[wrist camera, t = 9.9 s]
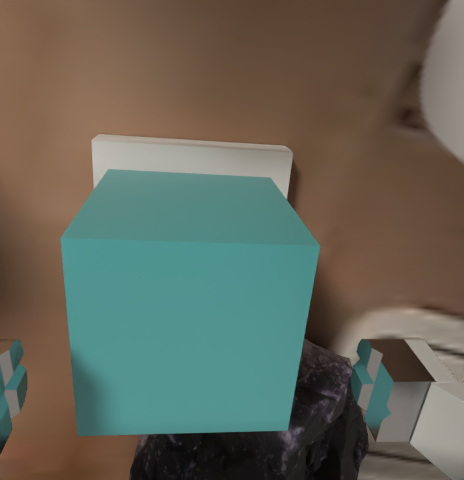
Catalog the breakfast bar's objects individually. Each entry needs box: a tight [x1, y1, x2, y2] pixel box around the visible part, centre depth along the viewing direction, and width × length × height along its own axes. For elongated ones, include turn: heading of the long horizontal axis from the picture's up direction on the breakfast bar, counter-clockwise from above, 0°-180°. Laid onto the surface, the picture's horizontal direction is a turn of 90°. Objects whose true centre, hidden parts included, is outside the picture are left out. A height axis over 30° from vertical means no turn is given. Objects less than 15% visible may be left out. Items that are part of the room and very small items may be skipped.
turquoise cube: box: [61, 169, 320, 436], centre depth 14 cm, size 6×6×7 cm
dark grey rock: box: [129, 338, 369, 480], centre depth 21 cm, size 13×14×10 cm
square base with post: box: [92, 134, 293, 199], centre depth 16 cm, size 8×8×8 cm
